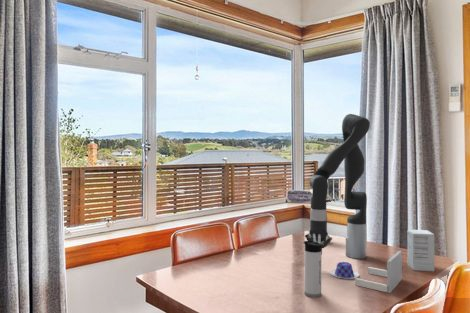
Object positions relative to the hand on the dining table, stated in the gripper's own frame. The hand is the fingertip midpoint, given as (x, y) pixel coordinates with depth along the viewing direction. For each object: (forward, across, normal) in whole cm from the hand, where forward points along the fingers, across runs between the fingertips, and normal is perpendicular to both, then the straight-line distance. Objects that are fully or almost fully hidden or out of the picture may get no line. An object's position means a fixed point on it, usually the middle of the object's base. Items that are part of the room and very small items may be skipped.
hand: (318, 256), depth 162 cm
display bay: (+6, +26, 0) cm, 27 cm away
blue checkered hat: (+6, +12, 0) cm, 14 cm away
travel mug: (+7, +9, -28) cm, 30 cm away
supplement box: (+6, +38, +30) cm, 48 cm away
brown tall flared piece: (+5, -17, +46) cm, 49 cm away
